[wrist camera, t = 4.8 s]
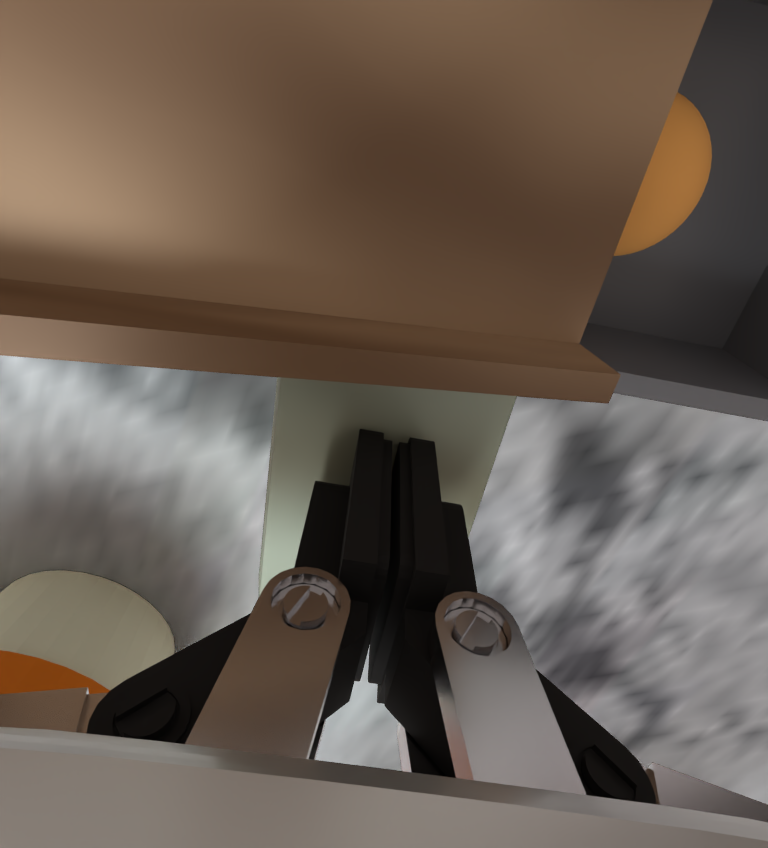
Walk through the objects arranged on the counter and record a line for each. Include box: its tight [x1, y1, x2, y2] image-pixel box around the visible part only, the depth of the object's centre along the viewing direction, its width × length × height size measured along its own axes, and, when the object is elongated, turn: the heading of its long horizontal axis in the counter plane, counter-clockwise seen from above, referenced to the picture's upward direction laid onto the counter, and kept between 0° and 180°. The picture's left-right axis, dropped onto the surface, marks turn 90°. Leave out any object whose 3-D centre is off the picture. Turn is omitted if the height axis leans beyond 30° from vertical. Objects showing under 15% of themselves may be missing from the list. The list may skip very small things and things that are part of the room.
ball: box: [614, 92, 712, 256], centre depth 13 cm, size 4×4×4 cm
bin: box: [579, 0, 768, 421], centre depth 14 cm, size 10×10×5 cm
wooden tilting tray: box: [0, 0, 713, 596], centre depth 9 cm, size 15×16×3 cm
